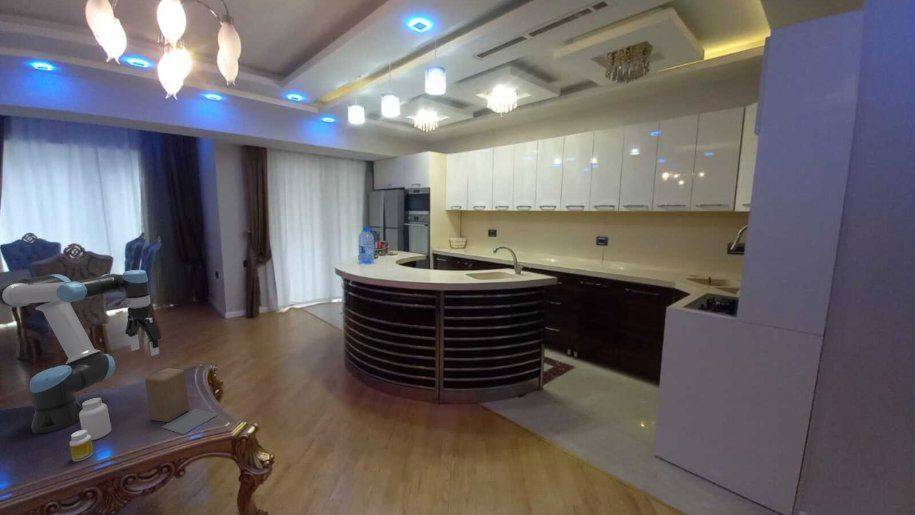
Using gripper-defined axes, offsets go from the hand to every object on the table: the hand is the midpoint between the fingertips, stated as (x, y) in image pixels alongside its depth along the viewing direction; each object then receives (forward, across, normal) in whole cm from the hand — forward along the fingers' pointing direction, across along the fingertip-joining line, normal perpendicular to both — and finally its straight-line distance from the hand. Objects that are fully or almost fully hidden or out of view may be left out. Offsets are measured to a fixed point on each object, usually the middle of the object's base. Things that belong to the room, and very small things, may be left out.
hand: (145, 352), depth 153 cm
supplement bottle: (+28, +9, -28) cm, 41 cm away
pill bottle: (+29, -2, -18) cm, 34 cm away
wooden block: (+28, +11, 0) cm, 31 cm away
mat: (+28, +24, 0) cm, 37 cm away
